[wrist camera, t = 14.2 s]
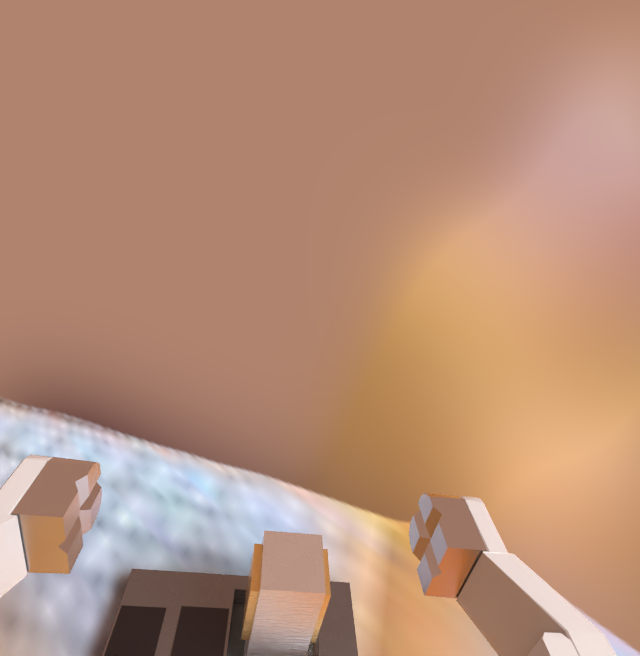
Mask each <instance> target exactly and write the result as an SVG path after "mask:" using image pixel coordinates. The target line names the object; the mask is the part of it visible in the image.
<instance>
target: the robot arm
mask: <svg viewBox="0 0 640 656" xmlns="http://www.w3.org/2000/svg"><path fill="white" fill-rule="evenodd" d="M100 474H101V472H100V464H99V463H97V462H90V461H82V460H74V459H65V458H57V457H46V456H37V455H30V456H28V457H27V458H25V459H24V460H23V461H22V462H21V463H20V465H19V466H18V467H17V468H16V470H15V471H14V472H13V474H12V475H11V476H10V477H9V479H8V480H7V481H6V482H5V484H4V485H3V486H2V488H1V489H0V598H1V597H2V596H3V595H4V594H5V593H6V592H8V591H9V590H10V589H11V588H12V587H14V586H15V585H16V584H17V583H18V582H20V581H21V580H22V579H23V578H24V577H26V576H27V572H34V573H64V574H69V573H70V571H71V569H72V567H73V565H74V563H75V561H76V559H77V557H78V555H79V553H80V551H81V549H82V547H83V541H82V535H83V534H85V533H86V532H87V531H89V530H90V529H91V528H92V526H93V524H94V522H95V520H96V518H97V514H98V511H99V508H100V504H101V496H102V490H101V486H100V485H99V484H98V483H97V480H98V478H99V476H100ZM418 504H419V507H420V511H418V512H417V513H415V514H414V515H413V518H412V520H411V523H410V532H409V537H410V544H411V548H412V552H413V554H414V555H415V556H416V557H417V558H418V559H419V560H420V561H421V562H420V564H419V566H418V569H417V571H418V574H419V578H420V582H421V585H422V589H423V592H424V595H425V596H436V597H446V598H457V600H456V601H457V602H458V603H459V604H460V606H461V607H462V608H463V610H464V611H465V612H466V614H467V615H468V616H469V617H470V619H471V620H472V621H473V623H474V624H475V625H476V626H477V628H478V629H479V630H480V632H481V633H482V634H483V635H484V637H485V638H486V639H487V641H488V642H489V643H490V645H491V646H492V647H493V648H494V650H495V651H496V652H497V654H498V655H499V656H617V655H616V653H615V652H614V650H613V648H612V647H611V645H610V643H609V642H608V640H607V638H606V637H605V635H604V634H603V633H602V632H601V631H600V630H599V629H598V628H597V627H596V626H594V625H593V624H592V623H591V622H590V621H589V620H588V619H586V618H585V617H584V616H583V615H582V614H581V613H580V612H579V611H577V610H576V609H575V608H574V607H573V606H572V605H571V604H570V603H568V602H567V601H566V600H565V599H564V598H563V597H562V596H561V595H559V594H558V593H557V592H556V591H555V590H554V589H553V588H552V587H550V586H549V585H548V584H547V583H546V582H545V581H544V580H543V579H541V578H540V577H539V576H538V575H537V574H536V573H535V572H534V571H532V570H531V569H530V568H529V567H528V566H527V565H526V564H524V563H523V562H522V561H521V560H520V559H519V558H518V557H517V556H516V555H514V554H510V553H508V552H507V550H506V548H505V546H504V544H503V542H502V540H501V538H500V536H499V534H498V532H497V529H496V527H495V526H494V524H493V521H492V519H491V517H490V515H489V513H488V511H487V509H486V507H485V506H484V503H483V501H482V500H481V499H479V498H475V497H464V496H460V497H459V496H453V495H441V494H429V493H424V494H423V495H422V496H421V498H420V500H419V503H418Z"/></svg>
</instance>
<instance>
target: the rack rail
mask: <svg viewBox="0 0 640 656" xmlns="http://www.w3.org/2000/svg"><path fill="white" fill-rule="evenodd" d="M248 577H249V576H236V575H221V574H205V573H190V572H174V571H159V570H143V569H132V571H131V574H130V577H129V580H128V582H127V585H126V588H125V591H124V594H123V597H122V599H121V602H120V605H119V608H118V611H117V614H116V616H115V619H114V622H113V625H112V628H111V631H110V633H109V636H108V639H107V642H106V645H105V648H104V650H103V653H102V656H227V648H228V640H229V631H230V623H231V615H232V607H233V602H235V603H245V595H246V588H247V583H248ZM330 591H331V597H330V600H329V603H328V606H327V609H326V612H325V615H324V618H323V621H322V624H321V627H320V630H319V633H318V636H317V639H316V643H314V651H315V656H358V651H357V643H356V635H355V626H354V618H353V609H352V601H351V592H350V584H349V583H344V582H330Z"/></svg>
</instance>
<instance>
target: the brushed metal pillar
mask: <svg viewBox="0 0 640 656" xmlns="http://www.w3.org/2000/svg"><path fill="white" fill-rule="evenodd" d="M330 597H331V591H330V578H329V565H328V552H327V549H323V544H322V535H313V534H300V533H288V532H275V531H264V536H263V541H262V544H255V545H254V550H253V555H252V561H251V566H250V572H249V577H248V583H247V588H246V595H245V605H244V615H243V625H242V635H241V640H245V647H244V656H306V653H307V650H308V647H309V644H310V643H316V639H317V636H318V633H319V630H320V627H321V624H322V621H323V618H324V615H325V612H326V609H327V606H328V603H329V600H330Z"/></svg>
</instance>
